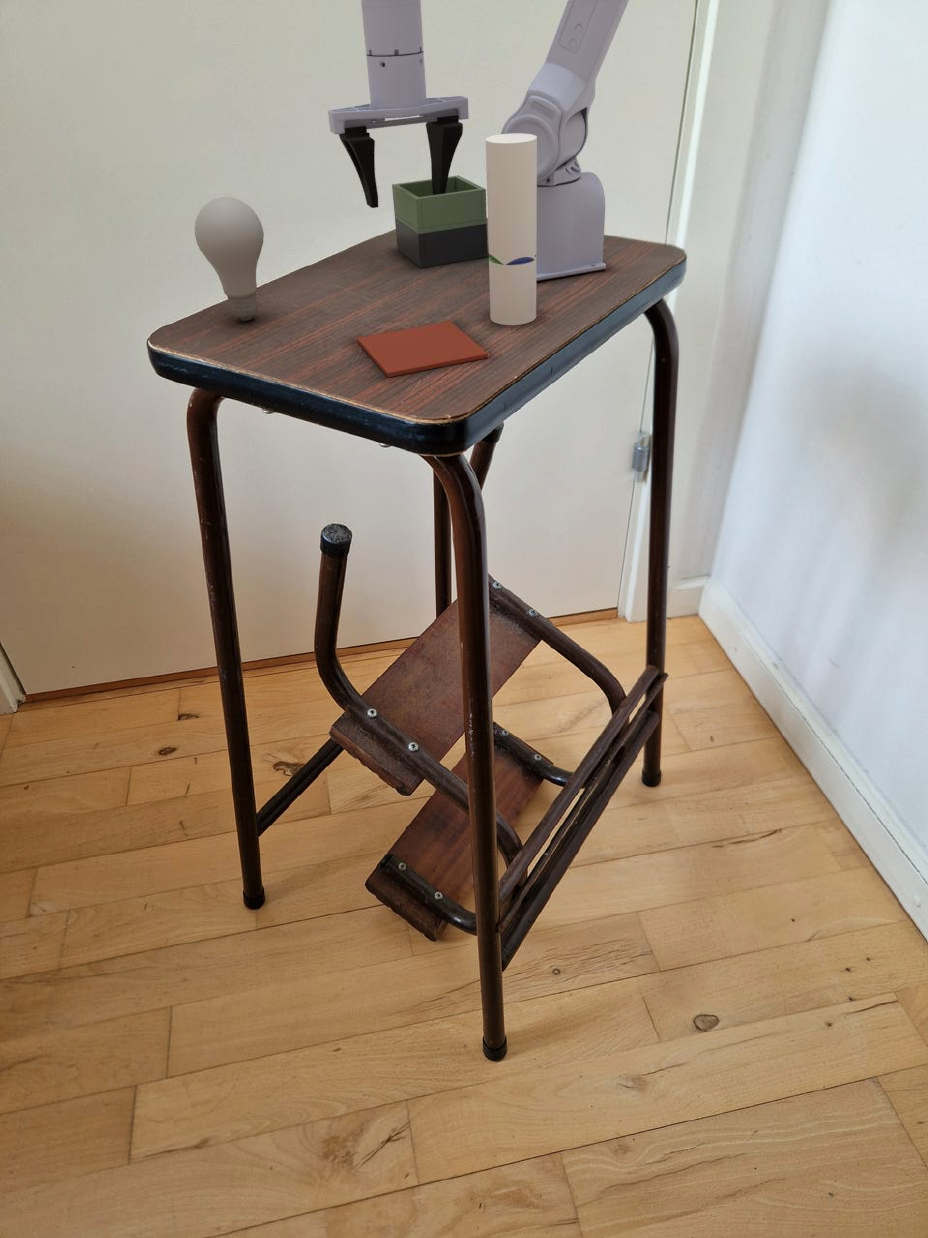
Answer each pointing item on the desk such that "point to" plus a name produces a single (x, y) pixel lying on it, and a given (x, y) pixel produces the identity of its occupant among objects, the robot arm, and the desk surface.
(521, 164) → the tube
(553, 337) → the desk surface
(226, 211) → the lightbulb
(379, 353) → the mat
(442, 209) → the box
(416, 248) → the box
